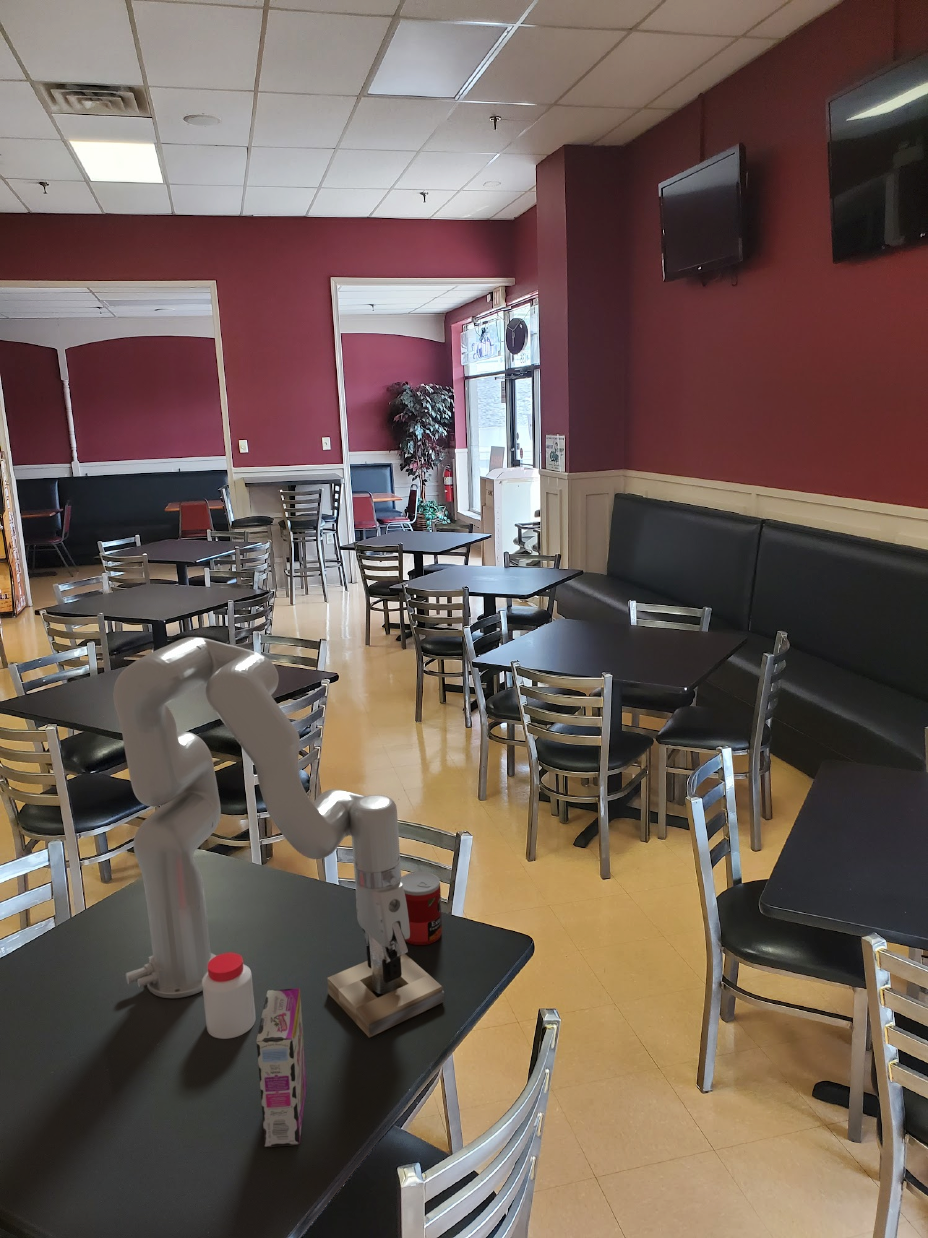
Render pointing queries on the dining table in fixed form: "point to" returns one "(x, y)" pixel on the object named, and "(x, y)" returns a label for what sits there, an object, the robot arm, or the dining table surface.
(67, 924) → the dining table surface
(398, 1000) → the frame
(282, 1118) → the candy bar box
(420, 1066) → the dining table surface
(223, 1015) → the pill bottle
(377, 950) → the frosted glass cylinder
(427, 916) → the canned food
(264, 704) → the robot arm
